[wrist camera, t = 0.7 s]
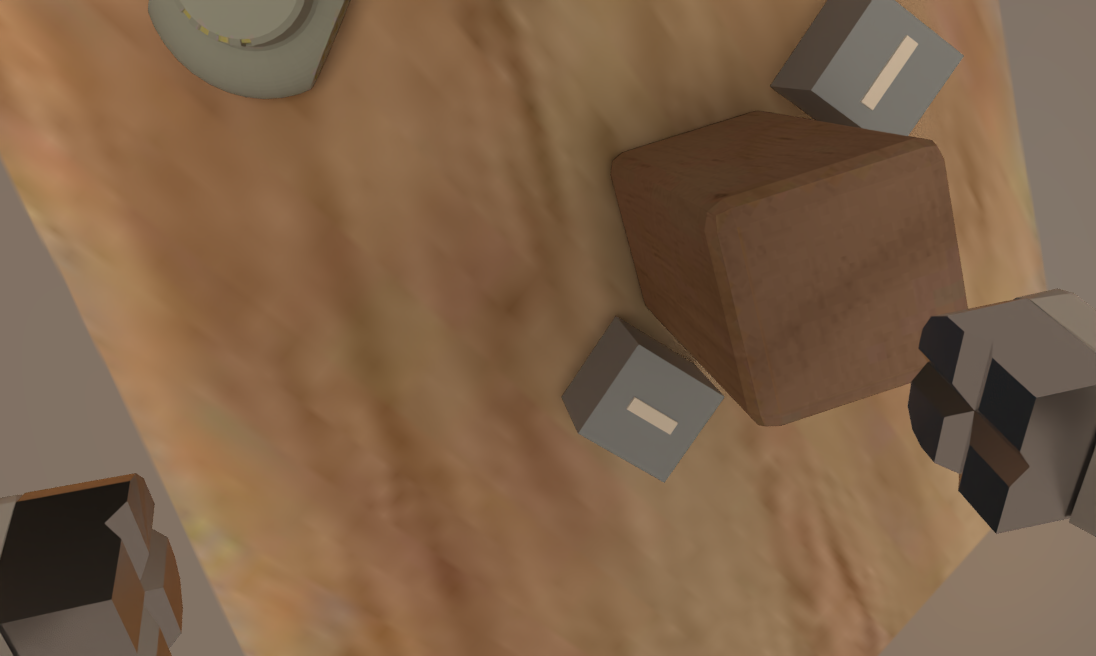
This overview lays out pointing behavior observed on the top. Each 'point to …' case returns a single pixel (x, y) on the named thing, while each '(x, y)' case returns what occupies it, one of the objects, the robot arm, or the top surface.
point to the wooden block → (793, 255)
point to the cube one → (867, 66)
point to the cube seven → (640, 400)
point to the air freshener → (250, 41)
